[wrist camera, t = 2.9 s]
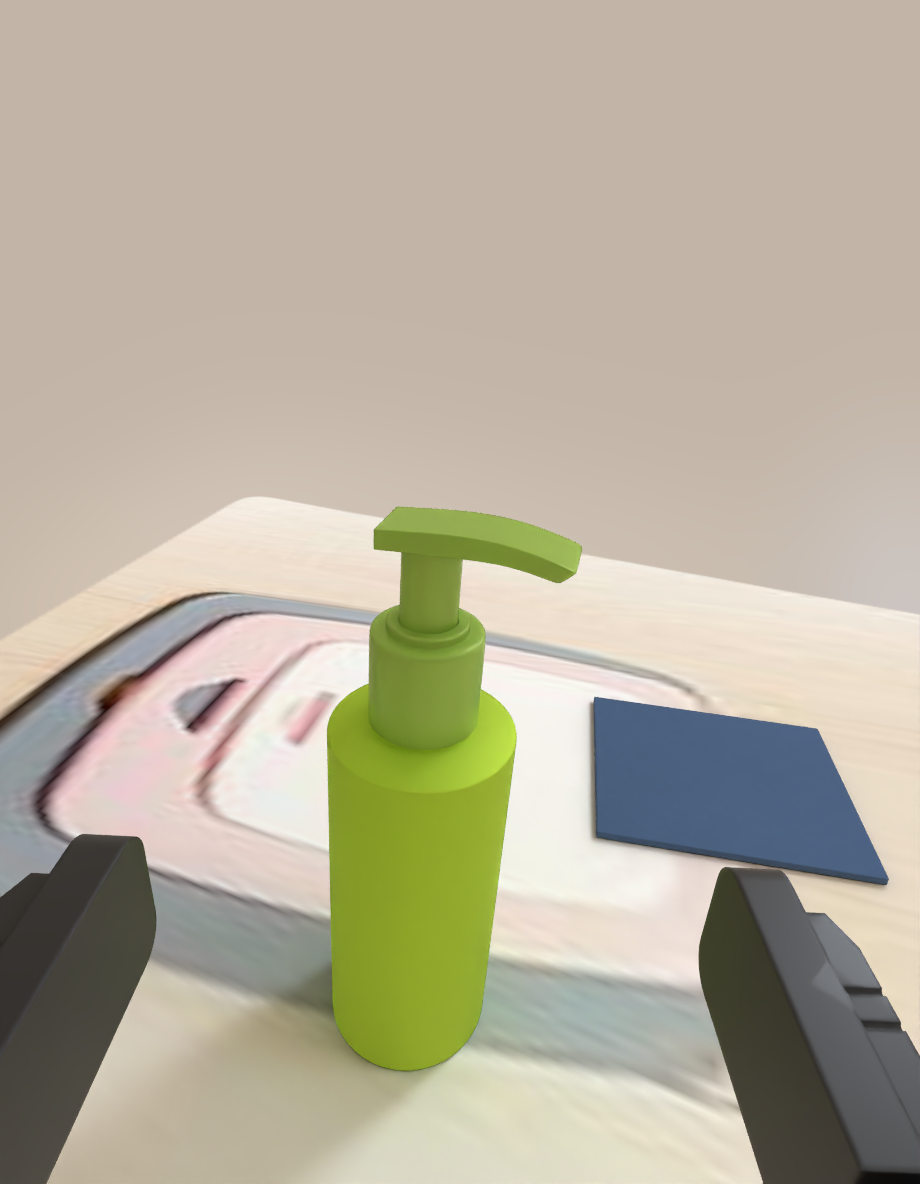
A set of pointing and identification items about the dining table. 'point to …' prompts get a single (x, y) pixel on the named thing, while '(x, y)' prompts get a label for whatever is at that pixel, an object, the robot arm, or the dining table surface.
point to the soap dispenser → (423, 794)
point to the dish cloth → (726, 790)
